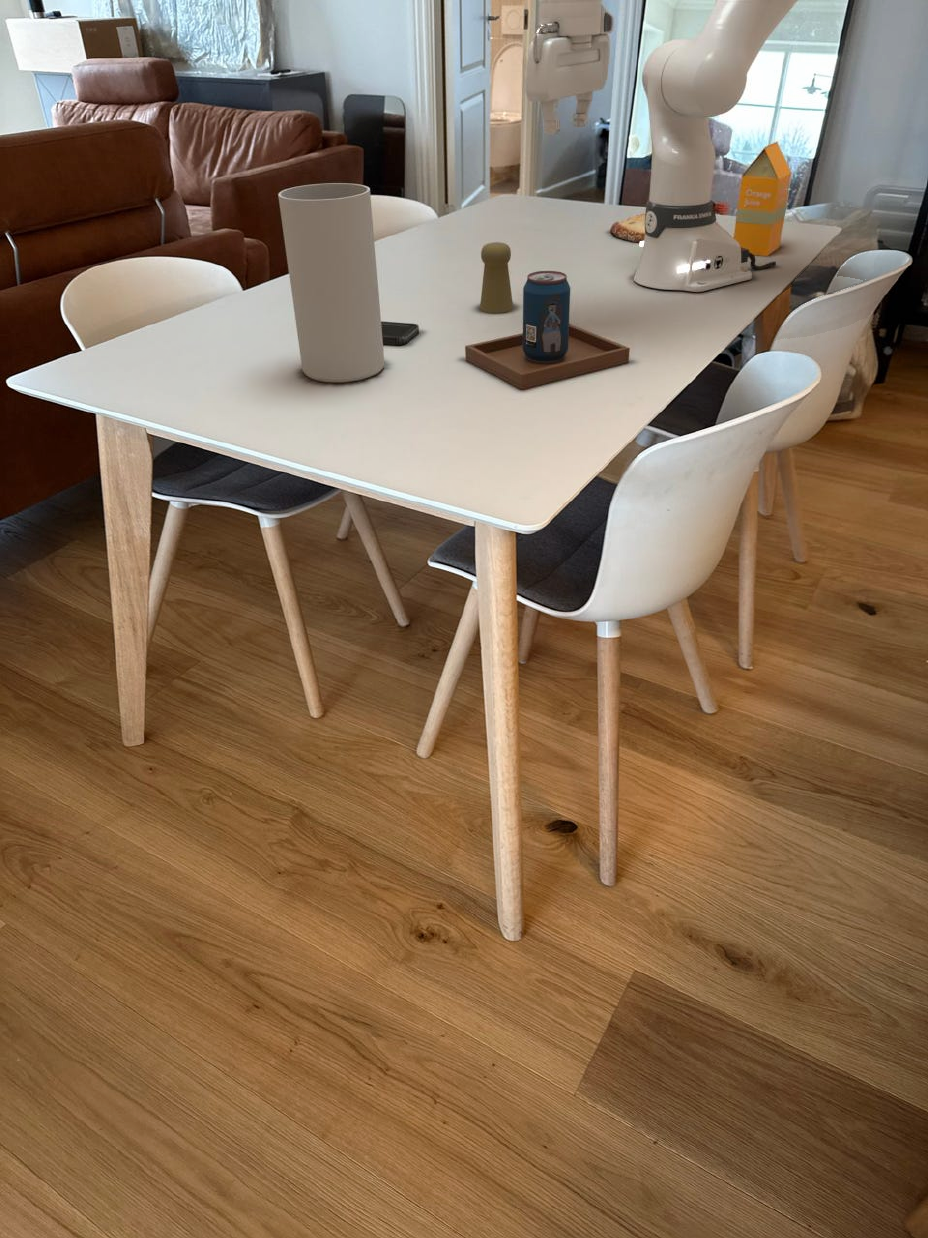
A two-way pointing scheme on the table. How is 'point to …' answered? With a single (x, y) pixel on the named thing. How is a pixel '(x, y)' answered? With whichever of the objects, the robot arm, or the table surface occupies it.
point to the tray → (521, 372)
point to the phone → (398, 332)
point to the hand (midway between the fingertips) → (566, 129)
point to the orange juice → (763, 202)
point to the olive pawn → (496, 279)
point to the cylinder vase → (333, 280)
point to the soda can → (546, 316)
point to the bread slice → (630, 229)
